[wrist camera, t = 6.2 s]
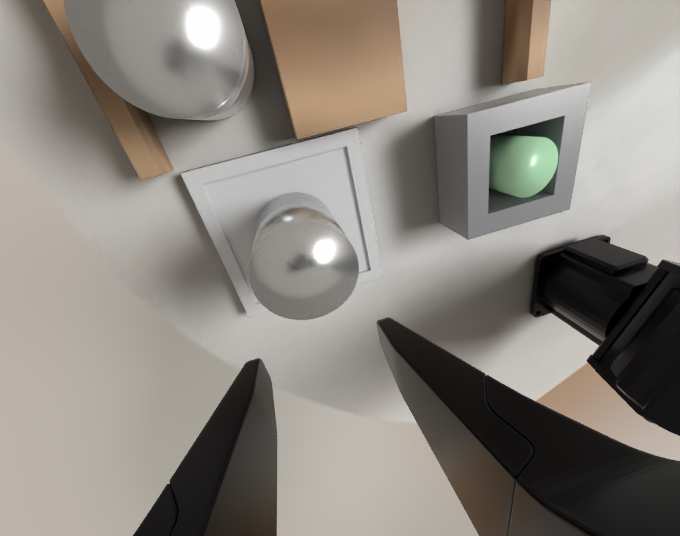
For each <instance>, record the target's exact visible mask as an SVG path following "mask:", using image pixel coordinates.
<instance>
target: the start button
mask: <svg viewBox="0 0 680 536" xmlns="http://www.w3.org/2000/svg"><path fill="white" fill-rule="evenodd" d="M557 163H558V150H557V147H556V145H555V144H554V142H553V141H551V140H550V139H548V138H545V137H532V136H511V135H498V136H495V137H492V138H490V165H489V189H493V190H496V191H499V192H503V193H506V194H509V195H513V196H516V197H520V198H526V197H530V196H533V195H535V194H536V193H538V192H539V191H541V190H542V189H543V188H544V187H545V186H546V185H547V184H548V183H549V181H550V180H551V178H552V177H553V175H554V173H555V170H556V167H557Z"/></svg>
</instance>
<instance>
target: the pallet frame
mask: <svg viewBox="0 0 680 536" xmlns="http://www.w3.org/2000/svg"><path fill="white" fill-rule="evenodd" d="M43 1H44V3H45V5H46V7H47V9H48V10H49V12H50V14H51V16H52V18H53V20H54V21H55V23H56V25H57V27H58V29H59V31H60V32H61V34H62V36H63V38H64V40H65V42H66V43H67V45H68V47H69V49H70V51H71V53H72V54H73V56H74V58H75V60H76V62H77V64H78V65H79V67H80V69H81V71H82V73H83V75H84V77H85V78H86V80H87V82H88V84H89V86H90V88H91V89H92V91H93V93H94V95H95V97H96V99H97V100H98V102H99V104H100V106H101V108H102V110H103V111H104V113H105V115H106V117H107V119H108V121H109V122H110V124H111V126H112V128H113V130H114V132H115V133H116V135H117V137H118V139H119V141H120V143H121V145H122V146H123V148H124V150H125V152H126V154H127V156H128V157H129V159H130V161H131V163H132V165H133V167H134V168H135V170H136V172H137V174H138V176H139V178H140V179H141V180H143V179H147V178H151V177H155V176H158V175H162V174H164V173H166V172H168V171H171V170H173V167H172V165H171V163H170V161H169V159H168V157H167V155H166V153H165V151H164V148H163V146H162V144H161V142H160V140H159V138H158V136H157V134H156V132H155V130H154V128H153V126H152V124H151V121H150V119H149V117H148V115H147V113H146V111H144V110H142V109H140V108H138V107H136V106H134V105H132V104H131V103H129V102H128V101H126V100H125V99H123V98H122V97H121V96H119V95H118V94H117V93H115V92H114V91H113V90H112V89H111V88H110V87H109V86H108V85H107V84H106V83H104V82H103V80H102V79H101V78H100V77H99V76H98V75H97V74H96V72H95V71H94V70H93V69H92V67H91V66H90V64H89V63H88V62H87V60H86V59H85V57H84V55H83V54H82V52H81V50H80V49H79V47H78V45H77V43H76V41H75V38H74V36H73V34H72V31H71V29H70V26H69V23H68V20H67V16H66V12H65V7H64V1H63V0H43ZM258 2H259V6H260V10H261V13H262V17H263V21H264V24H265V28H266V32H267V35H268V39H269V43H270V46H271V50H272V54H273V58H274V61H275V65H276V69H277V72H278V76H279V80H280V83H281V87H282V91H283V94H284V98H285V102H286V105H287V109H288V113H289V117H290V120H291V124H292V128H293V131H294V135H295V138H296V139H301V138H305V137H309V136H313V135H317V134H321V133H325V132H328V131H332V130H336V129H340V128H344V127H348V126H352V125H356V124H359V123H363V122H367V121H371V120H375V119H379V118H383V117H386V116H390V115H394V114H398V113H402V112H406V111H407V103H406V93H405V82H404V72H403V61H402V50H401V40H400V29H399V19H398V8H397V0H258ZM550 7H551V0H505V23H504V46H503V69H502V84H508V83H513V82H519V81H525V80H529V79H533V78H537V77H541V76H544V66H545V56H546V46H547V36H548V27H549V17H550Z"/></svg>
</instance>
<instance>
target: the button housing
mask: <svg viewBox="0 0 680 536" xmlns="http://www.w3.org/2000/svg"><path fill="white" fill-rule="evenodd" d="M590 86H591V82H586V83H578V84H571V85H563V86H556V87H548V88H541V89H535V90H532V91H528V92H524V93H520V94H516V95H512V96H509V97H505V98H501V99H497V100H493V101H490V102H486V103H482V104H478V105H474V106H470V107H467V108H463V109H459V110H455V111H451V112H448V113H444V114H440V115H436V116H434V129H435V147H436V165H437V182H438V200H439V218H440V223H441V224H443V225H444V226H446V227H448V228H449V229H451V230H453V231H455V232H456V233H458V234H460V235H461V236H463V237H465V238H466V239H468V240H469V239H472V238H475V237H479V236H482V235H485V234H489V233H492V232H495V231H499V230H502V229H505V228H509V227H512V226H515V225H519V224H522V223H525V222H529V221H532V220H535V219H539V218H542V217H545V216H549V215H552V214H555V213H559V212H562V211H565V210H569V209H570V204H571V198H572V192H573V186H574V180H575V175H576V169H577V163H578V157H579V151H580V145H581V139H582V133H583V127H584V122H585V116H586V110H587V104H588V98H589V92H590ZM513 129H516V136H532V137H545V138H548V139H550V140H551V141H553V142H554V144H555V145H556V147H557V150H558V163H557V167H556V170H555V173H554V175H553V177H552V178H551V180H550V181H549V183H548V184H547V185H546V186H545V187H544V188H543V189H542V190H541V191H539V192H538V193H536V194H535V195H533V196H530V197H526V198H520V197H516V196H513V195H509V194H506V193H503V192H499V191H496V190H491V191H489V165H490V136H491V135H495V134H498V133H502V132H506V131H509V130H513Z"/></svg>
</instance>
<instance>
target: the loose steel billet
mask: <svg viewBox="0 0 680 536" xmlns="http://www.w3.org/2000/svg"><path fill="white" fill-rule="evenodd" d="M358 274H359V263H358V258H357V254H356V252H355V250H354V247H353V246H352V244H351V243H350V241H349V240H348V238H347V237H346V235H345V233H344V232H343V230H342V229H341V227H340V226H339V224H338V222H337V221H336V219H335V218H334V216H333V215H332V213H331V212H330V210H329V209H328V207H327V206H326V205H325V204H324V203H323V202H322V201H321V200H319V199H318V198H316V197H314V196H312V195H309V194H306V193H301V192H290V193H285V194H282V195H280V196H278V197H276V198H274V199H272V200H271V201H270V202H269V203H268V204H266V206H265V207H264V208H263V210H262V211H261V213H260V215H259V217H258V221H257V225H256V231H255V236H254V242H253V248H252V253H251V259H250V265H249V281H250V285H251V288H252V291H253V293H254V295H255V296H256V298H257V299H258V301H259V302H260V303H261V304H262V305H263V306H264V307H265V308H267V309H268V310H269V311H271V312H273V313H274V314H277V315H279V316H282V317H285V318H289V319H296V320H307V319H314V318H318V317H321V316H324V315H326V314H328V313H330V312H332V311H334V310H335V309H337V308H338V307H339V306H341V305H342V304H343V303H344V302H345V301H346V300H347V299H348V297H349V296H350V295H351V293H352V291H353V290H354V288H355V285H356V283H357V279H358Z"/></svg>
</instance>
